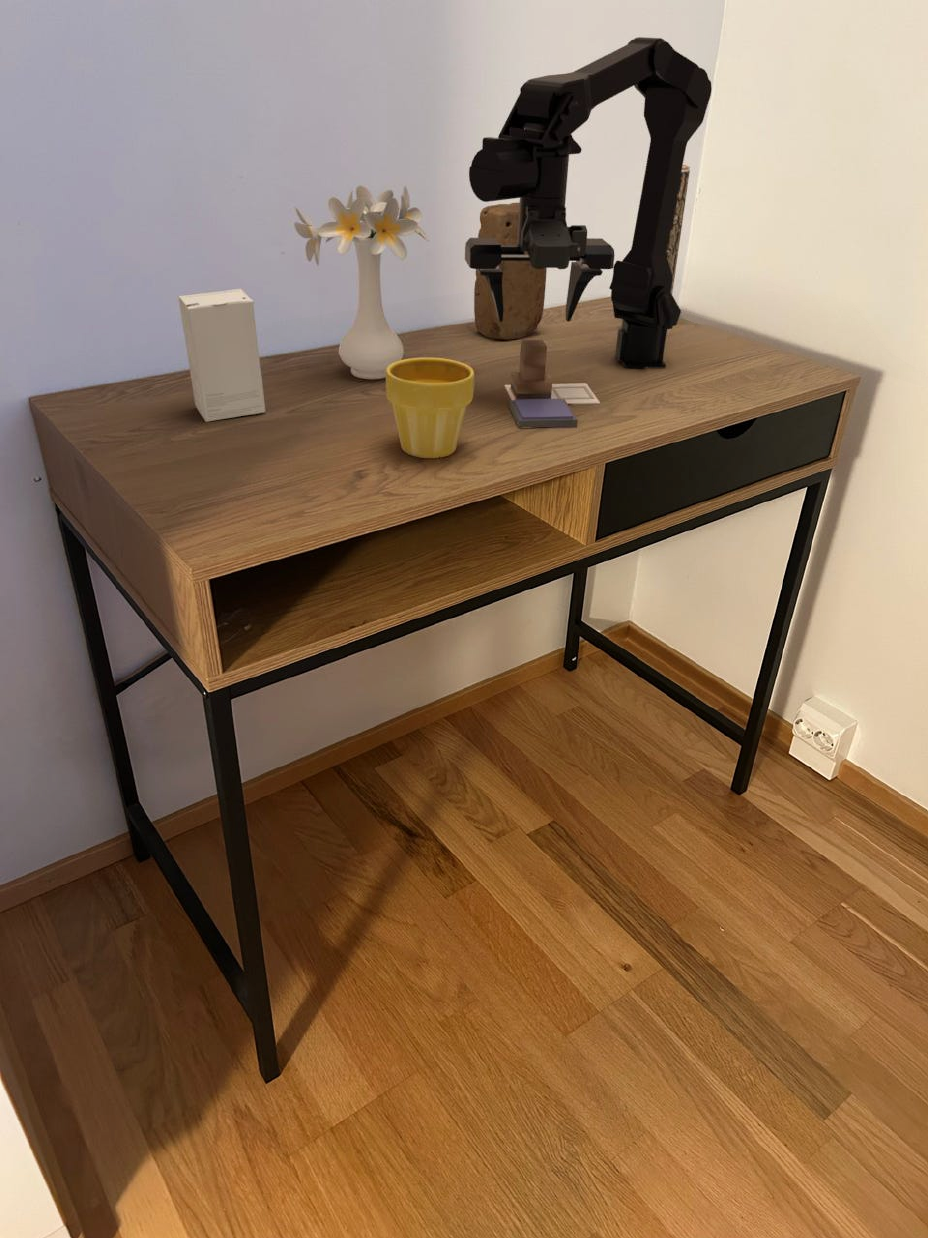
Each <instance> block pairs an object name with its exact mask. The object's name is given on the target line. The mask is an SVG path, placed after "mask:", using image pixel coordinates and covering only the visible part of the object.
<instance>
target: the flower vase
mask: <svg viewBox="0 0 928 1238" xmlns="http://www.w3.org/2000/svg"><path fill="white" fill-rule="evenodd" d="M355 195H356V199H354V198H353V190H350V193H349V197H348V199H347V204H346V206H345V205H344V203H343V202H342V201H341V200H340V199H339V198H338V197H335V196H331V197H330V198H329V199H328V202H327V203H328V204H327V206H328V210H329V212H330V215H332V218H333V219H334V220H335V221H332V220H331V221H327V222H325V223H324V224H321V225H320V226H319V227H317V226H315V224H313V222H311V221H310V219H308V218H307V217H306V216H305V214H303V213H302V212H301V211H300V210H299V208H298V207H297V206H296V207H294V208H295V212H296V214H297V216H298V218H299V220H300V221H301V222H298V221H295V222H294V225H293V226H294V229H295V231H296V232H297V234H298V235H299V236H300V237H301V238H304V239H308V240H307V241H306V243H305V256H306V259H307V261H308V262H312V260H313V257H314V259H315V262H316V265H317V266H319V265H320V250H321V243H322V239H323V238H325V239H326V241H325V243H328V242H330V241H331V240H333V239H334V238H336V237H337V238H338V239H337V242H336V248H337V252H338V254H339V255H340V256H345V255H346V254H347V253H348V252H349V251H350V248H351V246H352V243H353V244H354V247H355V248H354V249H355V252H356V257H357V265H358V266H357V267H358V305H357V306H358V307H357V312H356V316H355V319H354V322H353V324H352V326H351V327H350V329H349V330H348V331H347V332H346V333H345V334H344V335H343V336H342V338H341V341H340V343H339V348H338V355H339V357H340V358H341V361H342V362H343V363H344V364H345V365H346V366H348V367H349V368H350V373H351V375H352V376H354V377H356V378H358V379H362V380H363V379H364V380H381V379H386V369H387V367H388V366H389V365H390V364H392V363H394V362H397V361H400V360H403V357H404V356H403V355H404V352H405V350H404V345H403V343H402V341H401V339H400V337H399V336H398V335H397V333H396V332H395V331H394V330H393V329H392V328H391V327H390V325H389V323H388V321H387V318H386V315H385V312H384V309H383V302H382V301H383V299H382V290H381V289H382V288H381V287H382V285H381V259H382V257H381V256H382V253H383V251H384V250H385V249H386V247H387V246H388V247H389V249H390V251H391V252H392V254H393V255H394V256H395V257H396V258H397V259H399V260H405V259H406V258H407V253H408V252H407V248H406V245H405V243H404V240H402V238H401V237H406V236H410V235H412V234H414V233H416V234H418V235H419V236H420V237H421V238H423V239H424V240H426V242H429V238H428V235H427V233H426V232H425V231H424V229H423V228H422V227H421V226H420V225H419V224H418V223H420V222H422V220H423V214H422V212H421V210H420V209H419V208H418V207H410V206H411V200H410V194H409V191H408V189H407V186H405V185H404V186H403V191H402V194H401V195H400V204H399V201H398V200H397V198H395V197H394V191H393V190H391V189H386V190H383V191H382V192H380V193H379V194H378V195H377V197H376V198H375V200H374V198H373V196H372V193H371V191H370V190H369V189H368V188H367V187H366V186H365V185H362V184H360V185H358V186H356V190H355ZM353 199H354V200H353ZM399 205H400V206H399Z"/></svg>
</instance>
